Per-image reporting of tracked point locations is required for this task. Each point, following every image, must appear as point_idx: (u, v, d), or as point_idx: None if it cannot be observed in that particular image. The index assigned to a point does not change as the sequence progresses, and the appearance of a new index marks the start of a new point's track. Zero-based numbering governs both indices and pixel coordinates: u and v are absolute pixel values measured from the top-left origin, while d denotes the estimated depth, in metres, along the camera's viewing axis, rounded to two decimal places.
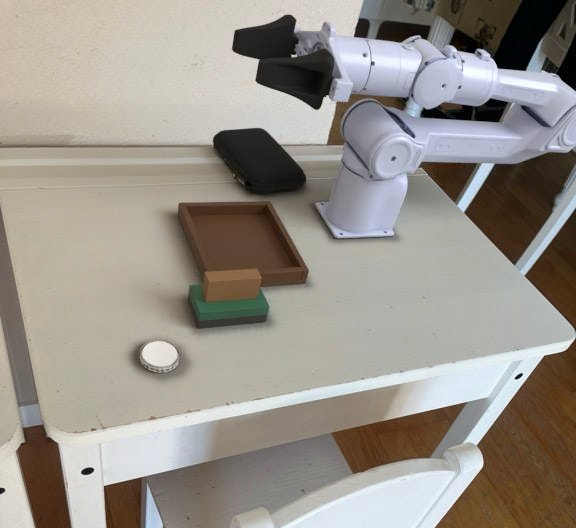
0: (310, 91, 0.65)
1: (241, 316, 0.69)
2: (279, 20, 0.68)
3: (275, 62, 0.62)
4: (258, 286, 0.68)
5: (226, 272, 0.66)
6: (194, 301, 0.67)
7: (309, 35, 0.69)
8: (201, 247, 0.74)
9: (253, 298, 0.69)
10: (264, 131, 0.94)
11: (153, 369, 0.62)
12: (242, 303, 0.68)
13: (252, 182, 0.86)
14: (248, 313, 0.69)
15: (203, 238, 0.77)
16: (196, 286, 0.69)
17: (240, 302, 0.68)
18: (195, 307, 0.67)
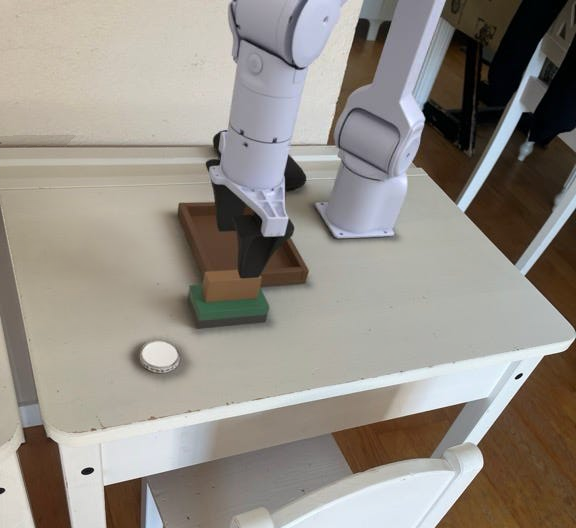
0: None
1: (241, 316, 0.69)
2: (210, 178, 0.62)
3: (241, 267, 0.60)
4: (258, 286, 0.68)
5: (226, 272, 0.66)
6: (194, 301, 0.67)
7: None
8: (201, 247, 0.74)
9: (253, 298, 0.69)
10: None
11: (153, 369, 0.62)
12: (242, 303, 0.68)
13: None
14: (248, 313, 0.69)
15: (203, 238, 0.77)
16: (196, 286, 0.69)
17: (240, 302, 0.68)
18: (195, 307, 0.67)
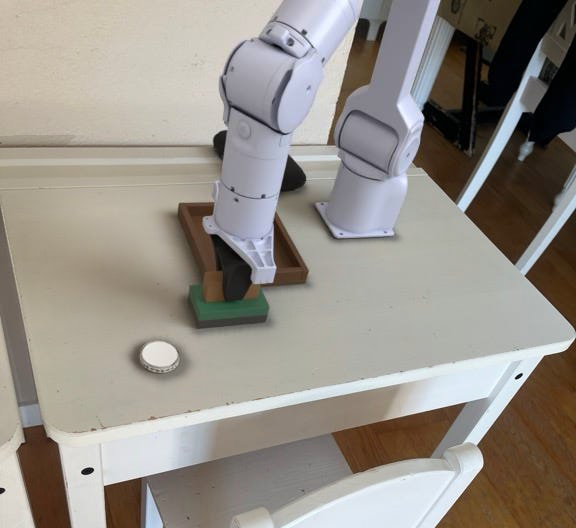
0: None
1: (241, 316, 0.69)
2: (211, 239, 0.65)
3: (225, 291, 0.66)
4: (258, 286, 0.68)
5: None
6: (194, 301, 0.67)
7: None
8: (201, 247, 0.74)
9: (253, 298, 0.69)
10: None
11: (153, 369, 0.62)
12: (242, 303, 0.68)
13: None
14: (248, 313, 0.69)
15: (203, 238, 0.77)
16: (196, 286, 0.68)
17: (240, 302, 0.68)
18: (195, 307, 0.67)
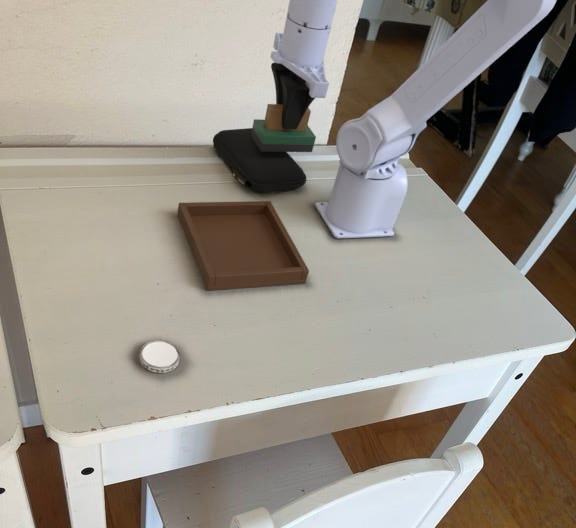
0: (309, 90, 0.83)
1: (294, 143, 0.88)
2: (274, 77, 0.84)
3: (284, 119, 0.85)
4: (307, 119, 0.87)
5: None
6: (258, 129, 0.87)
7: None
8: (201, 247, 0.74)
9: (303, 131, 0.89)
10: None
11: (153, 369, 0.62)
12: (295, 133, 0.88)
13: (252, 182, 0.86)
14: (299, 141, 0.88)
15: (203, 238, 0.77)
16: (259, 120, 0.88)
17: (293, 132, 0.88)
18: (259, 134, 0.87)
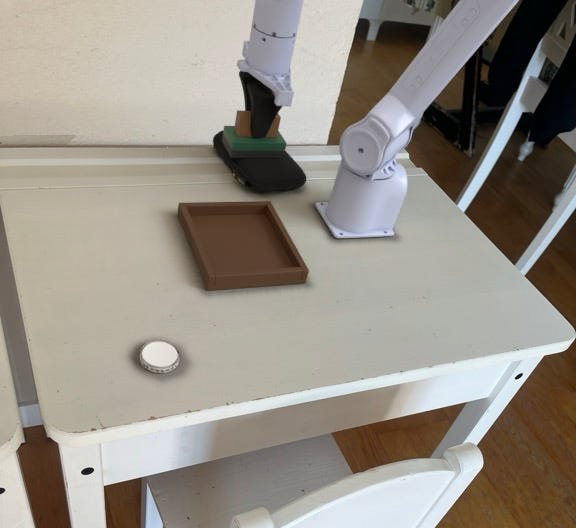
0: None
1: (264, 150, 0.88)
2: (242, 85, 0.84)
3: (253, 127, 0.85)
4: (278, 125, 0.87)
5: None
6: (228, 136, 0.86)
7: None
8: (201, 247, 0.74)
9: (274, 137, 0.88)
10: None
11: (153, 369, 0.62)
12: (265, 139, 0.87)
13: (252, 182, 0.86)
14: (270, 147, 0.88)
15: (203, 238, 0.77)
16: (229, 126, 0.88)
17: (264, 138, 0.87)
18: (229, 140, 0.86)
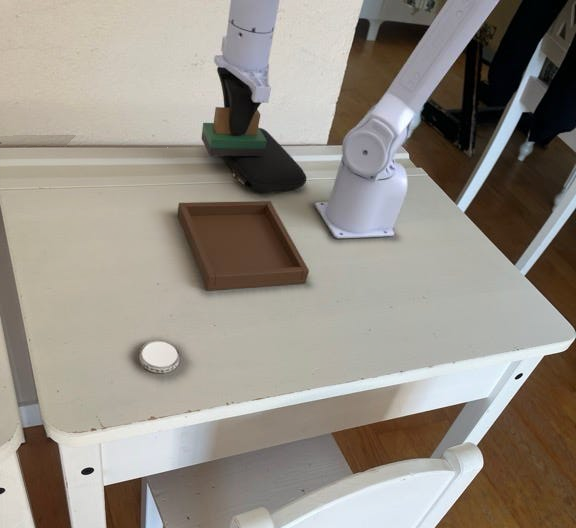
0: None
1: (244, 147, 0.86)
2: None
3: (231, 124, 0.84)
4: (257, 122, 0.86)
5: None
6: (207, 133, 0.85)
7: None
8: (201, 247, 0.74)
9: (254, 134, 0.87)
10: (264, 131, 0.94)
11: (153, 369, 0.62)
12: (245, 137, 0.86)
13: (252, 182, 0.86)
14: (250, 145, 0.86)
15: (203, 238, 0.77)
16: (208, 123, 0.86)
17: (243, 136, 0.86)
18: (208, 138, 0.85)
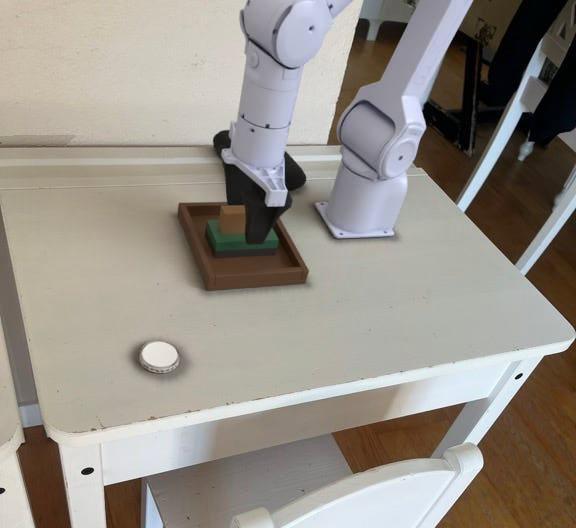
0: None
1: (253, 248, 0.76)
2: (222, 160, 0.74)
3: (247, 235, 0.72)
4: None
5: (240, 207, 0.74)
6: (211, 233, 0.75)
7: None
8: (201, 247, 0.74)
9: None
10: None
11: (153, 369, 0.62)
12: None
13: (252, 182, 0.86)
14: (259, 245, 0.76)
15: (203, 238, 0.77)
16: (213, 221, 0.76)
17: None
18: (212, 239, 0.75)
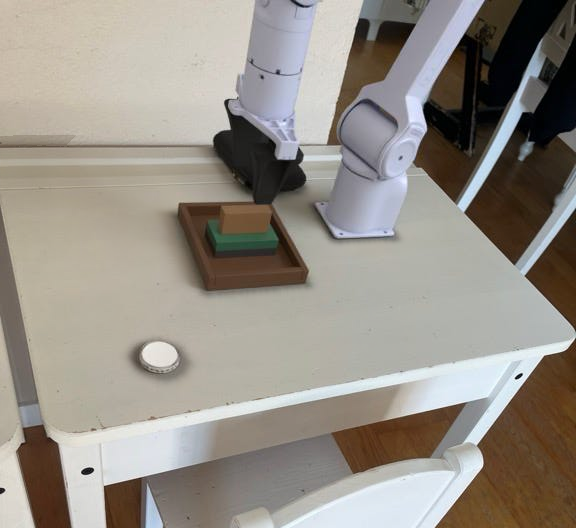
0: (285, 160, 0.65)
1: (253, 248, 0.76)
2: (228, 116, 0.70)
3: (256, 193, 0.68)
4: (268, 220, 0.76)
5: (240, 207, 0.74)
6: (211, 233, 0.75)
7: None
8: (201, 247, 0.74)
9: (264, 232, 0.77)
10: None
11: (153, 369, 0.62)
12: (254, 236, 0.76)
13: (252, 182, 0.86)
14: (259, 245, 0.76)
15: (203, 238, 0.77)
16: (213, 221, 0.76)
17: (252, 235, 0.76)
18: (212, 239, 0.75)
